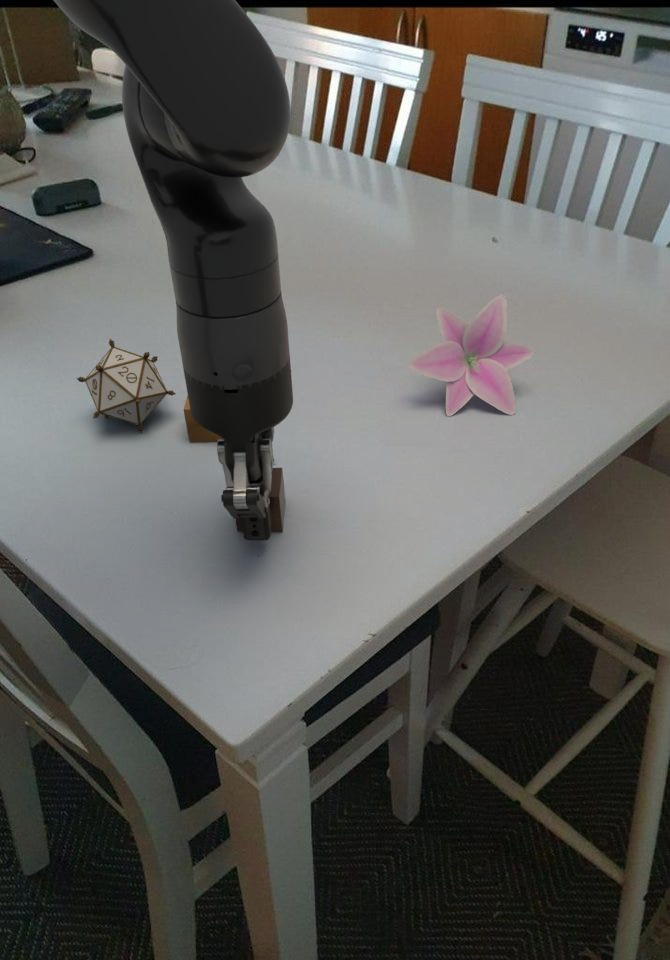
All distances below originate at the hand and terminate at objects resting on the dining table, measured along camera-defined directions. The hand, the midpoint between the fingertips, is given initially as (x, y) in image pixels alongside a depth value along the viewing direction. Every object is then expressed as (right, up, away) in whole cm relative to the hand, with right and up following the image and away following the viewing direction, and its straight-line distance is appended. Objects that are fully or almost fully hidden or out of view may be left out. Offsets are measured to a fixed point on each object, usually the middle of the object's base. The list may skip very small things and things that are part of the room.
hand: (258, 534), depth 67 cm
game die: (-14, +11, +17) cm, 25 cm away
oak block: (-6, +10, +15) cm, 18 cm away
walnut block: (0, +1, +4) cm, 4 cm away
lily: (+21, +13, +18) cm, 30 cm away
